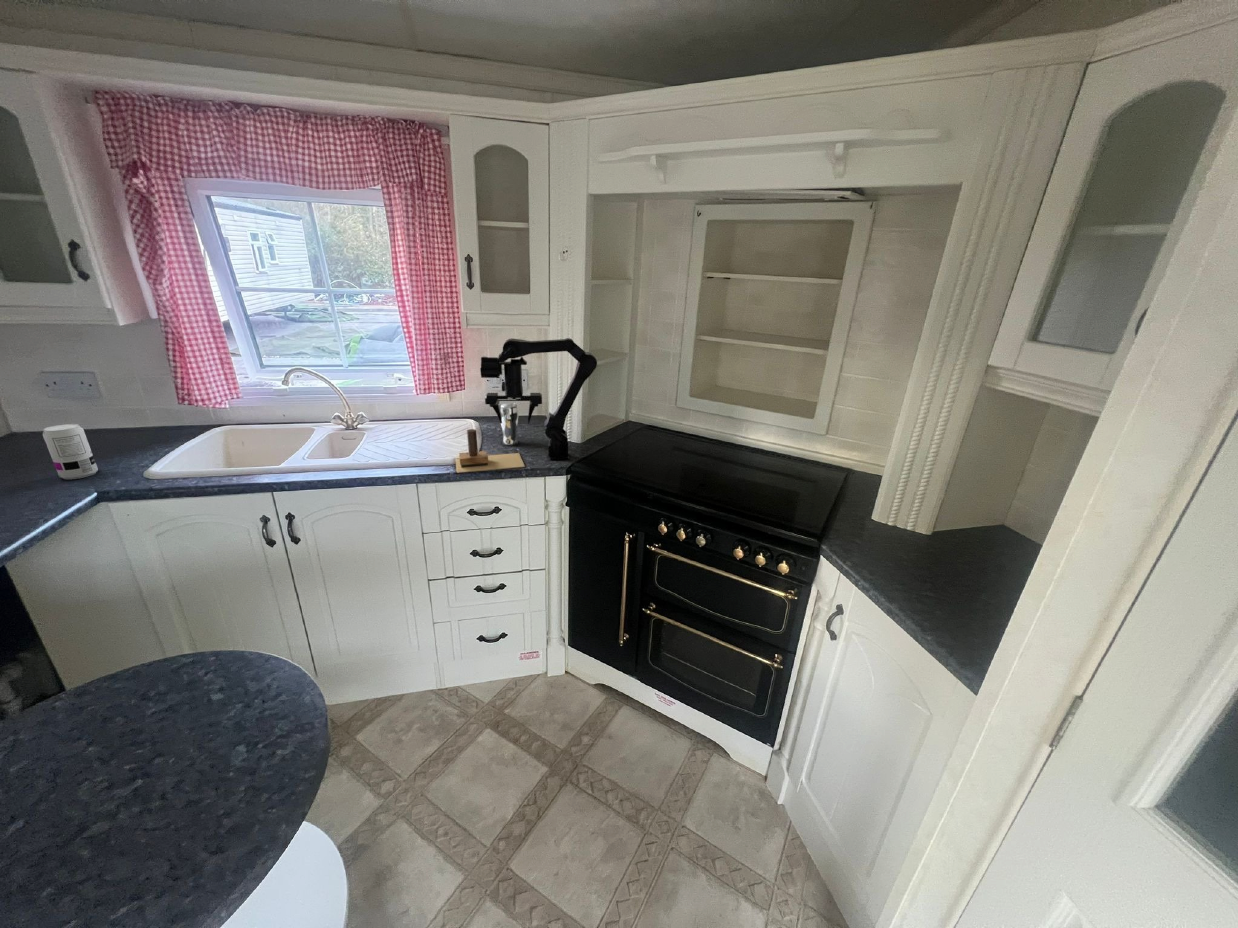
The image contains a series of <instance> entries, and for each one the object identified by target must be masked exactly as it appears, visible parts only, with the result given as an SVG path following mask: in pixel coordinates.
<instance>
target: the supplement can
mask: <svg viewBox="0 0 1238 928" xmlns="http://www.w3.org/2000/svg"><path fill="white" fill-rule="evenodd" d="M42 437H43V441H44V442H45V444H46V447H47V449H48V450H47V451H48V453H49V455H50V457H51V460H52V462H53V465H54V467H55V469H56V472H57V475H58V477H59V478H61V479H63V480H77V479H84V478H87V477H91V476H93V475H95V474H97V472H98V470H99V468H98V465H97V463H96V460H95V457H94V455H93V452H92V449H91V447H90V443H89V441H88V438H87V435H86V433H85V430H84V428H83V427H81V426H80V424H77V423H65V424H57V425H52V426H48V427H45V428H43V432H42Z"/></svg>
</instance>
